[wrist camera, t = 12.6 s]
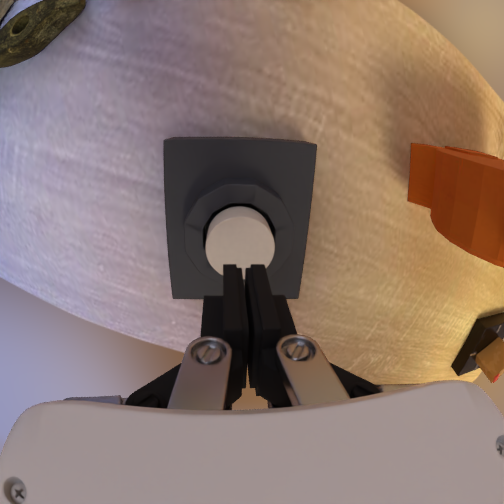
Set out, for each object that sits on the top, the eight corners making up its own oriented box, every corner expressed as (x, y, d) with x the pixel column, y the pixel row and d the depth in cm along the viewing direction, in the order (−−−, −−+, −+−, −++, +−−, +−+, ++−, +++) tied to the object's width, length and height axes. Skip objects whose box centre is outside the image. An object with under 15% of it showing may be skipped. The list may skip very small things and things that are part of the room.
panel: (481, 355, 37) (489, 364, 35) (449, 366, 36) (456, 377, 34) (505, 311, 33) (514, 320, 30) (475, 319, 32) (485, 329, 29)
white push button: (267, 264, 19) (272, 279, 18) (208, 263, 19) (206, 279, 17) (272, 206, 18) (277, 217, 16) (207, 205, 17) (204, 216, 16)
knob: (499, 336, 31) (517, 357, 26) (497, 343, 32) (515, 364, 27) (476, 354, 32) (494, 378, 27) (475, 361, 33) (492, 384, 28)
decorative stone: (80, -19, 12) (60, -34, 8) (97, 9, 14) (76, -6, 10) (-9, 68, 13) (-35, 68, 10) (2, 100, 15) (-25, 102, 12)
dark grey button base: (291, 279, 26) (304, 313, 21) (177, 279, 25) (168, 314, 20) (305, 141, 20) (327, 147, 16) (171, 137, 20) (155, 141, 15)
